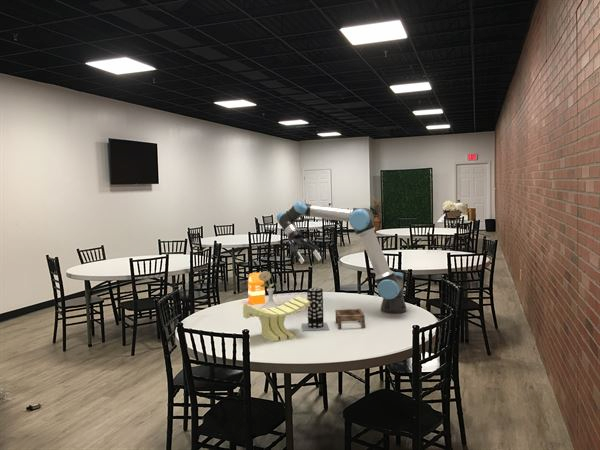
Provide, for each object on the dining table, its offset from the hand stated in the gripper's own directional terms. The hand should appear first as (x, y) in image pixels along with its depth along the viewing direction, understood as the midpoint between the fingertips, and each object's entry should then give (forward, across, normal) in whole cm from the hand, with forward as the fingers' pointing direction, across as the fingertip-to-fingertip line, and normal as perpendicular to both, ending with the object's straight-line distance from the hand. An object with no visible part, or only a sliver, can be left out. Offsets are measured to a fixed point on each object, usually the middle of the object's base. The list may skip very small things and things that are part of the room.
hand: (311, 260), depth 296 cm
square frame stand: (+43, 0, -3) cm, 43 cm away
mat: (+35, +15, -11) cm, 39 cm away
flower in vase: (+2, +9, -44) cm, 45 cm away
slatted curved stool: (+33, +39, -14) cm, 53 cm away
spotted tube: (+35, +14, -11) cm, 39 cm away
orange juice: (-15, 0, -61) cm, 63 cm away
